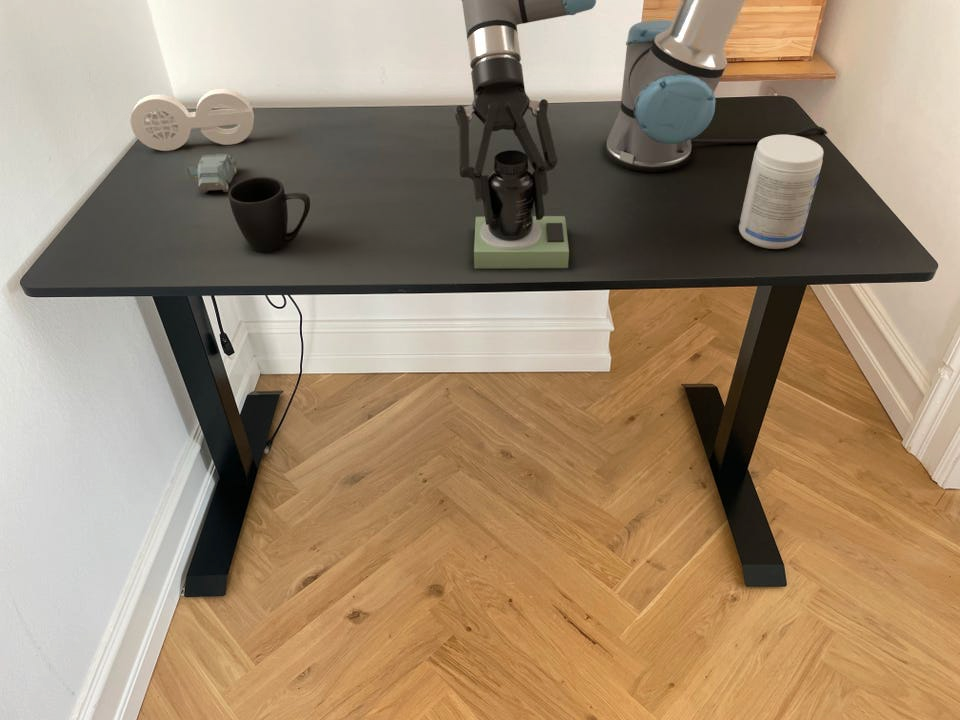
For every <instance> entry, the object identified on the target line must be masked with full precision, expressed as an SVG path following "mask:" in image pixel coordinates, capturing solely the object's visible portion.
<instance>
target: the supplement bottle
mask: <svg viewBox="0 0 960 720" xmlns="http://www.w3.org/2000/svg"><path fill="white" fill-rule="evenodd" d="M493 159H494V165H493V171H492V172H491V173H490V174H489V176H488V182H489V190H490V199H491V207H492V215H493V221H492V223H491V224H489V225H488V229H489V231H490V233H491V234H492V235H493V236H495V237H497V238H499V239H502V240H519V239H522V238H524V237H526V236H527V235H529V234H530V232H531V231H532V228H533V216H534V209H535V205H534V178H533V176H532V174H533V173H531V172H530V171H529V159H528V157H527V155H526V153H525V152H522V151H520V150H516V149H515V150H514V149H508V150H507V149H505V150H502V151H500V152H498V153H496V155H495V156H494V158H493Z"/></svg>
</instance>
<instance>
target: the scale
mask: <svg viewBox="0 0 960 720" xmlns="http://www.w3.org/2000/svg"><path fill="white" fill-rule="evenodd" d="M474 222H475V225H474V243H473V261H474V263H473V264H474V269H476V270H477V269H568V268H569V258H570V248H569V240H568V229H567V221H566V216H565V215H556V216H555V215H554V216H553V215H544V216H543V218H542V219H541V220H536V215H533V228H532V231H531V232H530V234H529V235H527V236H526V237H524V238H522V239H519V240H502V239H499V238H497V237H495V236H493V235H492V234H491V233H490V231H489V229H488V225H486V221H485V216H475V221H474Z"/></svg>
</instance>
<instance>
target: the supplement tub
mask: <svg viewBox="0 0 960 720" xmlns="http://www.w3.org/2000/svg"><path fill="white" fill-rule="evenodd" d="M762 138H763V139H761V138H760V139H761V140H760V141H759V142H758V143H756V144H757V145H756V148H755V151H754V154H753V159H752V163H751V167H750V172H749V176H748V181H747V186H746V190H745V195H744V199H743V200H744V201H743V204H742V209H741V214H740V219H739V224H738V230H739V234H740V235H741V237H742V238H743V239H744V240H745V241H747V242H749V243H751V244H753V245H754V246H757V247H760V248H764V249H769V250H771V249H772V250H781V249H788V248H791V247H793V246H795V245H796V244H798V243H799V242H800V241H801V239H802V237H803V234H804V231H805V227H806V223H807V220H808V216H809V213H810V209H811V206H812V202H813V199H814V195H815V191H816V188H817V184H818V180H819V177H820V174H821V169H822V165H823V158H824V148H823V147H822V146H821V145H820V144H819V143H817V142H816V141H815V140H812V139H809V138H807V137H804V136H799V135H796V136H795V135H781V134H773V135H769V136H766V137H762Z"/></svg>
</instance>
